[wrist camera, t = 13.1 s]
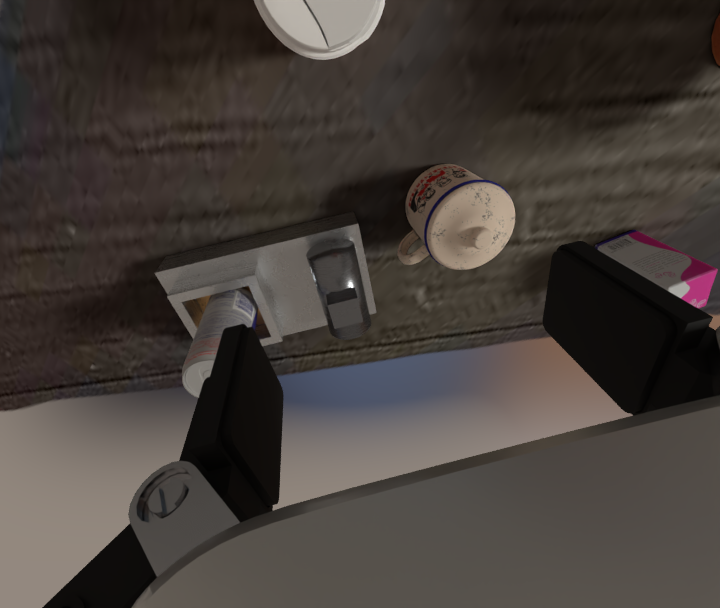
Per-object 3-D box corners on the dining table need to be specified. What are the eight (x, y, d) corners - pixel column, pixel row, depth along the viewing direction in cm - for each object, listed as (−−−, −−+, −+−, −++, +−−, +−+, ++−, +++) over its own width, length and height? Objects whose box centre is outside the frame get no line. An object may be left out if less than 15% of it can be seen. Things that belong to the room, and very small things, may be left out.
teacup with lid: (454, 142, 37) (508, 165, 28) (489, 205, 42) (546, 244, 32) (367, 213, 40) (389, 257, 30) (409, 265, 45) (440, 317, 35)
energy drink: (223, 328, 41) (200, 409, 31) (200, 292, 38) (165, 369, 28) (266, 315, 41) (256, 392, 31) (246, 277, 38) (228, 350, 28)
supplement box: (592, 278, 51) (659, 324, 41) (594, 244, 47) (667, 286, 38) (631, 263, 50) (708, 307, 41) (635, 228, 47) (720, 266, 37)
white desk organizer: (211, 334, 46) (190, 398, 37) (166, 256, 39) (127, 310, 30) (370, 295, 46) (388, 349, 37) (353, 211, 40) (369, 251, 31)
